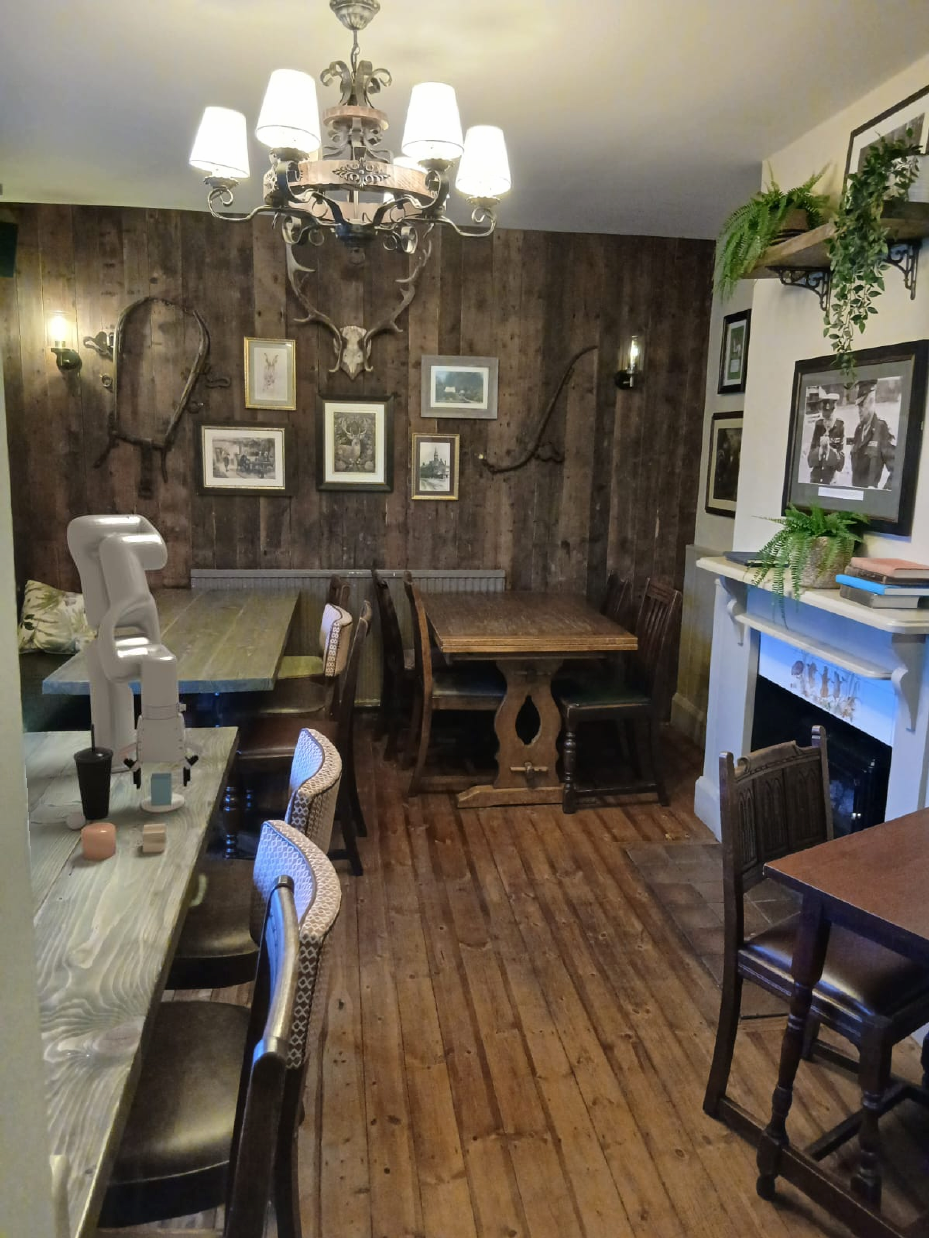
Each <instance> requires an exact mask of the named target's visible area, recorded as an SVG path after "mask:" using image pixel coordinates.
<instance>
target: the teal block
mask: <svg viewBox="0 0 929 1238" xmlns="http://www.w3.org/2000/svg"><path fill="white" fill-rule="evenodd" d="M172 773H173V772H172V771H165V772H163V771H162V772H152V773H151V777H150V796H151V806H163V805H171V802H172V793H173V780H172V778H173V775H172Z"/></svg>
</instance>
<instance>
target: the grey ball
mask: <svg viewBox="0 0 929 1238" xmlns="http://www.w3.org/2000/svg"><path fill="white" fill-rule="evenodd" d="M65 823H66V824H65V825H66V826H67V828H70V829H71V830H79V829H82V827H83V826H84V825H85V823H86V819H85V816H84V814H83V812H81V811H78V810H75V811H71V812H70V813H68V815H67V816H66V819H65Z"/></svg>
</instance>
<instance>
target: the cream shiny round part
mask: <svg viewBox="0 0 929 1238" xmlns="http://www.w3.org/2000/svg"><path fill="white" fill-rule="evenodd" d="M184 805H185V797H184V796H183V795H182V794H179V793H176V792H175V793H174V792H172V802H171V805H163V806H151V795H149V796H146V797H145V798H143V799H141V802H140V806H141V809H142V810H144V811H146V812H151V813H166V812H168V813H169V812H172V811H175V810H178V809H180V808H182V806H184Z"/></svg>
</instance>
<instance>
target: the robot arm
mask: <svg viewBox="0 0 929 1238" xmlns="http://www.w3.org/2000/svg"><path fill="white" fill-rule="evenodd" d="M66 530H67V531H66V538H67V546H68V549H69V552H70V555H71V558H72V559H73V562H74V563H75V566H76V567H77V571H78V573H79V577H80V582H81V590H82V599H83V605H84V613H85V618H86V622H87V624H88V626H89V627H90V629H92V630H94V631H97V632H98V633H97V638H94V639H92V640H90V641H89V642H88V643H87V644H86V646H85V647H84V651H83V655H84V656H83V657H84V662H85V668H86V672H87V677H88V682H89V683H88V685H89V696H90V698H89V699H90V711H91V713H90V714H91V724H94V734H95V747H103V748H107V749H110V750H112V751H113V753H114V755H113V757H112V766H111V774H112V773H119V772H126V771H129V770H130V771H131V772H132V783H133V785H135V787H136V790H140V789H141V786H142V767H141V766H142V765H143V764H159V763H177V762H179V763H180V764H181V766H183V767H182V780H183V781H182V783H183V788H184V787H188V782H191V778H192V777H191V776H192V775H191V769H192V767H193V766H194V765H195V764H196V763H197V762H198V761H199V759H200V757H201V756H202V754H203V751H204V746H202V745H201V744H197V743H195V742H193V741H191V740H189V739H187V735H186V725H185V719H184V715H183V713H182V712H183V711H186V710H187V704H184V703H181V702H180V701H179V699H180V698H179V697H180V696H179V662H178V658H177V656H176V655H175V654H174V653H171V651H170V650H169V648H167V647H166V646H165V645H163V644H162V638H161V629H160V623H159V616H158V615H159V614H158V609H157V605H156V601H155V598H154V596H153V594H151V592H150V588H149V584H148V580H147V577H146V571H154V570H161V569H163V568H164V567H165V566H166V565H167V563H168V549H167V548H168V547H167V546H166V543H165V540H164V539H163V537H162V535H161V534H160V533H159V531H158V530H157V528H155V527H154V526H153V525H152V523H151V522H149V519H147V518H146V517H144V516H143V515H139V514H94V515H93V514H92V515H91V514H90V515H84V516H83V515H82V516H79V517H76V518H74V519H72V520H71V521H70V522H69V523H68V525H67V529H66ZM125 629H134V630H135V632H136V633H135V632H134V633H127V634H115V630H125ZM133 682H140V701H141V714H140V715H138V719H137V725H136V732H135V708H134V705H135V703H134V702H135V701H134V693H133V692H134V691H133V689H132V688H131V686H130V685H129V683H133ZM135 734H136V735H135ZM135 737H136V738H135ZM187 749H190V750H192V751H194V753H193V755H192V756H190V757H189V756H187V755H186V753H187Z"/></svg>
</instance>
